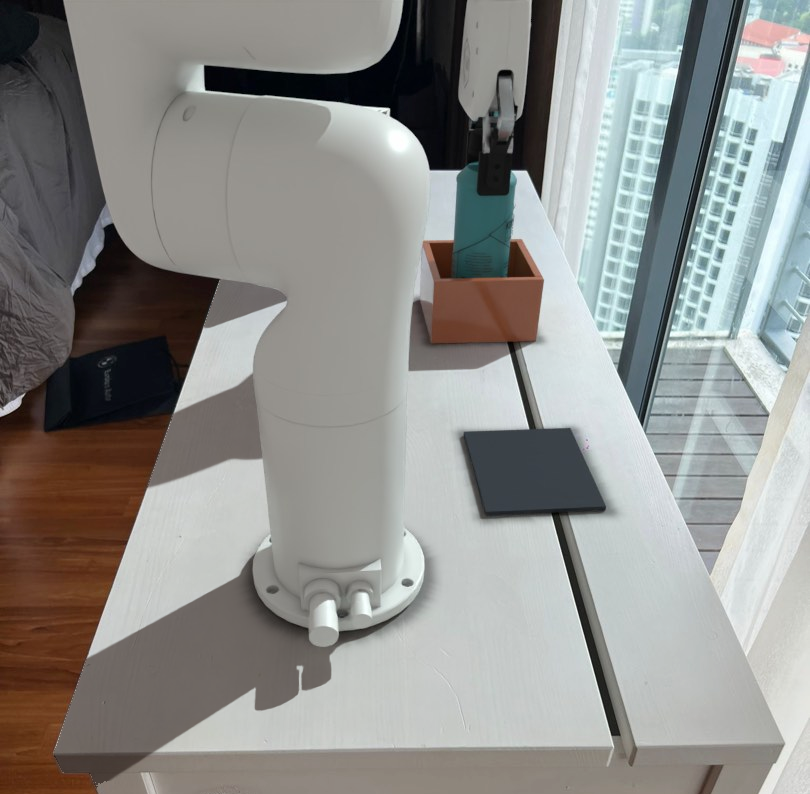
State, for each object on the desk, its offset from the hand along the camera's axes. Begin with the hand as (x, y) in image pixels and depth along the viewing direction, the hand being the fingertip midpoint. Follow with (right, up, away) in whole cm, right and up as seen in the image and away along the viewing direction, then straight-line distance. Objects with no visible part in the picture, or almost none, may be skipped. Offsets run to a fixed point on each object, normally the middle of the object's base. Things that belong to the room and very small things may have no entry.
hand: (486, 181), depth 86 cm
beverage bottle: (0, -12, +10) cm, 15 cm away
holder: (0, -12, +10) cm, 15 cm away
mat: (+3, -31, -13) cm, 34 cm away
